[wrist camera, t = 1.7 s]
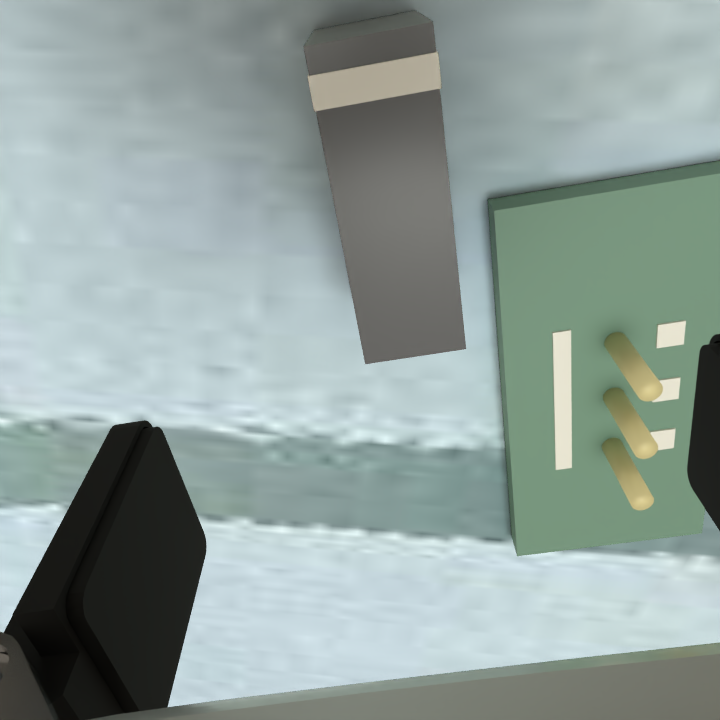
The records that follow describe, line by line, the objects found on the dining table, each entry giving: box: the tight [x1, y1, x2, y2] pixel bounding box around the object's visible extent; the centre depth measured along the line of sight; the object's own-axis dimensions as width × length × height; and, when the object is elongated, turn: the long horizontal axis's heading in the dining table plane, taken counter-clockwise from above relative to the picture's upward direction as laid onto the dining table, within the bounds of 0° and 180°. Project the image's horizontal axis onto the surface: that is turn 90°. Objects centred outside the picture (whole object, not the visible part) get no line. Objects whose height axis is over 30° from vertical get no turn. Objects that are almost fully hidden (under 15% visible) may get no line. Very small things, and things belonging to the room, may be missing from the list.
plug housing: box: [303, 11, 466, 364], centre depth 24 cm, size 11×4×6 cm, turn 10°
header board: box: [488, 161, 720, 556], centre depth 30 cm, size 20×10×6 cm, turn 10°
